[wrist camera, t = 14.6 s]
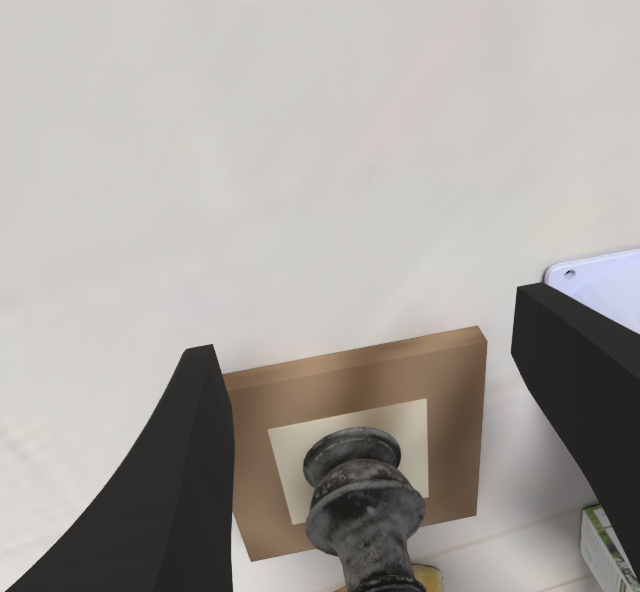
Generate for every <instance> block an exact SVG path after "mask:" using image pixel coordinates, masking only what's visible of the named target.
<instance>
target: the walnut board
mask: <svg viewBox="0 0 640 592" xmlns="http://www.w3.org/2000/svg"><path fill="white" fill-rule="evenodd" d="M486 356H487V340H486V338H485V337H484V335H483V333H482V332H481V330H480V329H479V327H478V326H475V327H469V328H464V329H459V330H454V331H448V332H443V333H438V334H433V335H427V336H422V337H417V338H412V339H406V340H401V341H396V342H391V343H385V344H380V345H375V346H370V347H364V348H359V349H354V350H349V351H343V352H338V353H333V354H328V355H322V356H317V357H312V358H307V359H301V360H296V361H291V362H286V363H280V364H275V365H270V366H265V367H259V368H254V369H249V370H244V371H238V372H233V373H228V374H223V375H222V376H223V379H224V382H225V386H226V389H227V392H228V395H229V399H230V402H231V405H232V413H233V425H234V439H235V461H234V484H233V505H232V511H233V514H234V516H235V519H236V522H237V525H238V528H239V530H240V533H241V536H242V539H243V541H244V544H245V547H246V550H247V552H248V555H249V558H250V561H251V562H253V561H258V560H263V559H268V558H272V557H277V556H282V555H287V554H292V553H297V552H302V551H306V550H311V549H316V547H315V546H314V545H313V544H312V543H311V542H310V541H309V540H308V537H307V535H306V532H305V525H306V519H307V517H308V515H309V512H310V503H311V500H312V497H313V493H314V490H315V488H314V487H312V486H311V485H310V484H309V483H308V482H307V480H306V479H305V476H304V473H303V461H304V459H305V457H306V454H307V452H308V451H309V450H310V449H311V448H312V446H313V445H314V444H315V443H317V442H318V441H319V440H321V439H322V438H324V437H325V436H327V435H329V434H332V433H334V432H336V431H339V430H343V429H347V428H353V427H369V428H376V429H379V430H382V431H384V432H387V433H388V434H390V435H391V436H392V437H394V438H395V439H396V441H397V443H398V444H399V446H400V450H401V461H400V465H399V467H398V468H397V469H398V470H399V471H400V472H401V473H402V474H403V475H404V476H405V477H406V478H407V479H408V481H409V482H410V484H411V485H412V487H413V488H414V489H415V490H417V491H418V492H419V493H420V494H421V496H422V498H423V499H424V501H425V507H426V514H425V517H424V521H423V523H422V524H421V526H420V527H423V526H427V525H432V524H437V523H442V522H447V521H452V520H456V519H461V518H466V517H471V516H476V512H477V496H478V480H479V465H480V449H481V434H482V418H483V402H484V387H485V371H486Z"/></svg>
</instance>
